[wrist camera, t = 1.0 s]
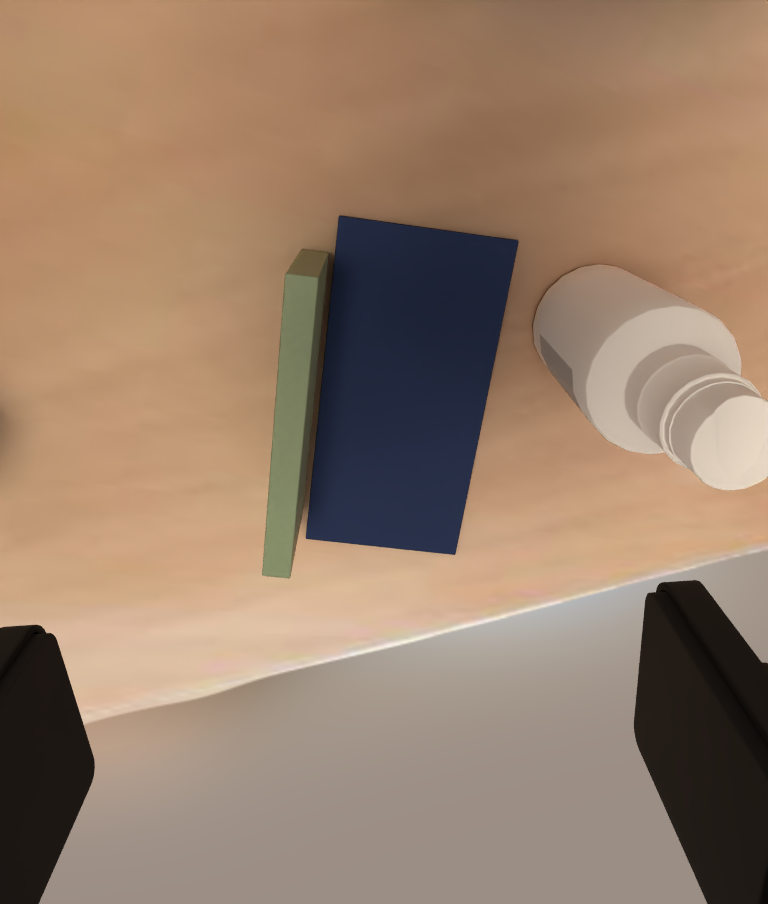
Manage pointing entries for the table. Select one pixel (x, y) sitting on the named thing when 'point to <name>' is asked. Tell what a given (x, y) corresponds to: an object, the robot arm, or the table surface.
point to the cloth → (405, 382)
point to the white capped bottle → (654, 374)
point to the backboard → (294, 407)
